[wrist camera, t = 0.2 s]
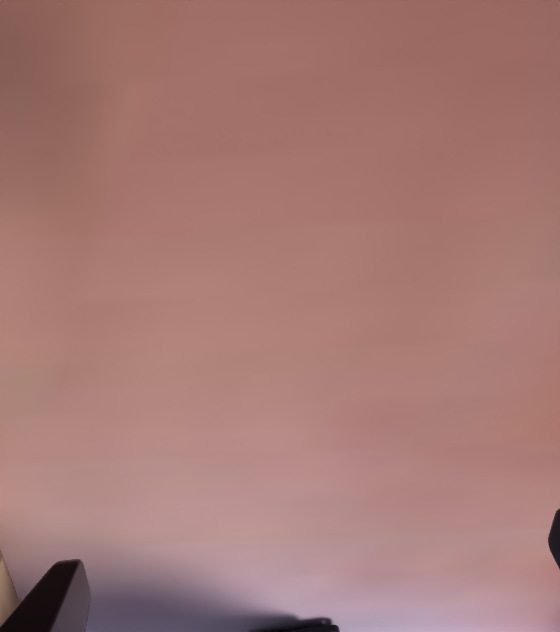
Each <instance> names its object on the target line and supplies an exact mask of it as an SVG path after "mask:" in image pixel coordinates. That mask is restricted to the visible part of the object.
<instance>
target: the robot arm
mask: <svg viewBox="0 0 560 632" xmlns="http://www.w3.org/2000/svg"><path fill="white" fill-rule="evenodd" d="M548 543H549V548H550V551H551V553H552V555H553V557H554V559H555V561H556V563H557V565H558V567H559V569H560V509H558V510H557V511H556V513H555V516H554V520H553V523H552V526H551V530H550V533H549V537H548ZM89 606H90V588H89V584H88V580H87V576H86V573H85V569H84V565H83V562H82V561H81V560H80V559H73V560H63V561H58V562H57V563H55V564H54V565H53V566H52V567H51V568H50V569H49V571H48V572H47V573H46V574H45V575H44V576H43V578H42V579H41V580H40V581H39V582H38V583H37V584H36V586H35V587H34V588H33V589H32V590H31V591H30V593H29V594H28V595H27V596H26V597H25V598H24V600H23V601H22V602H21V603H20V604H19V605H18V607H17V608H16V609H15V610H14V611H13V612H12V613H11V615H10V616H9V617H8V618H7V619H6V620H5V622H4V623H3V624H2V625H1V626H0V632H85V631H86V625H87V619H88V613H89ZM282 632H340V631H339V627H338V626H337V625H327V626H320V627H312V628H305V629H297V630H289V631H282Z"/></svg>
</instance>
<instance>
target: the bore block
mask: <svg viewBox="0 0 560 632" xmlns="http://www.w3.org/2000/svg"><path fill="white" fill-rule="evenodd" d="M19 604H20V603H19V601H18V598H17V595H16V592H15V590H14V587H13V584H12V581H11V579H10V576H9V573H8V571H7V568H6V565H5V562H4V560H3V557H2V554H1V551H0V626H1V625H2V624H3V623H4V622H5V620H6V619H7V618H8V617H9V616H10V615H11V613H12V612H13V611H14V610H15V609H16V608H17V607H18V605H19Z"/></svg>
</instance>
